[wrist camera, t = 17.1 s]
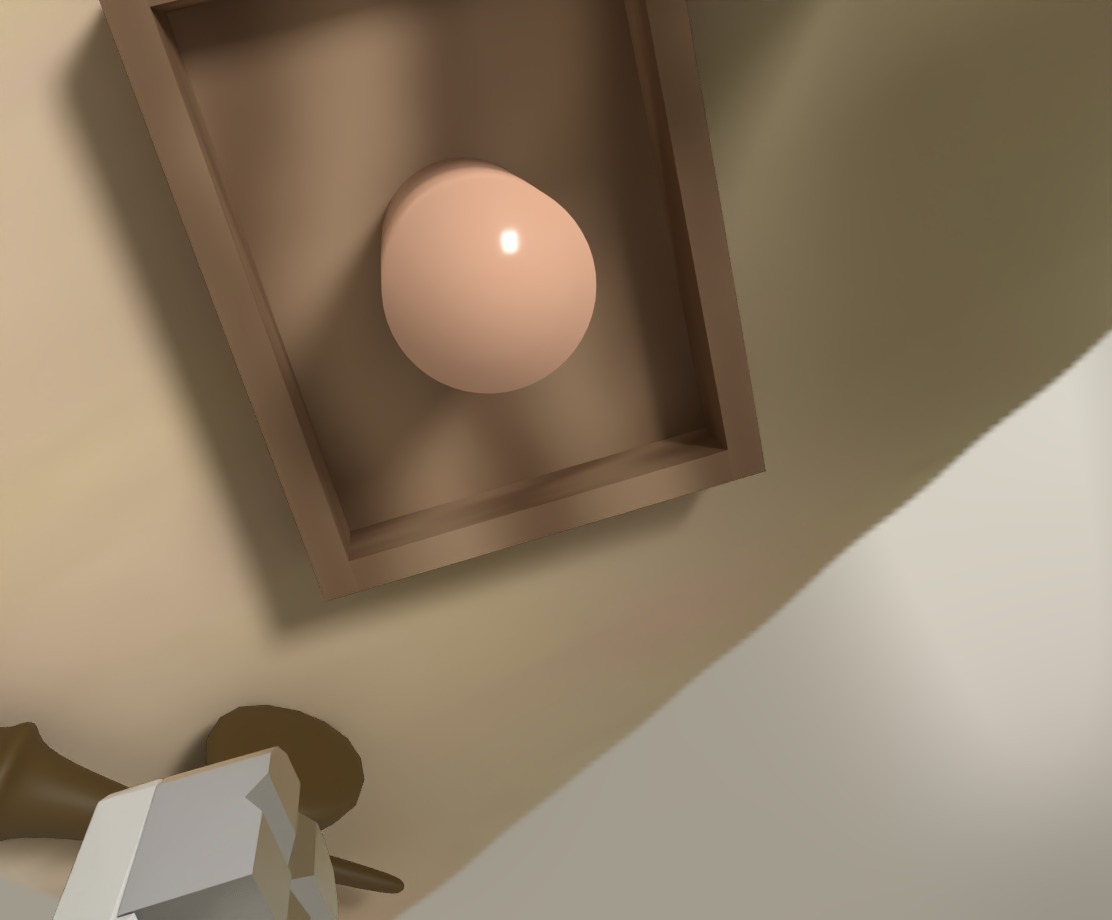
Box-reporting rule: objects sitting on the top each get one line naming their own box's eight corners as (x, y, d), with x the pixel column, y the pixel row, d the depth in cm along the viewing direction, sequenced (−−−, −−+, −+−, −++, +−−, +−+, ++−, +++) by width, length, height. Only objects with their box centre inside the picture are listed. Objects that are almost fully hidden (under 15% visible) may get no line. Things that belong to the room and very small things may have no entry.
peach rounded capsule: (523, 136, 33) (566, 151, 25) (567, 300, 35) (618, 358, 27) (357, 185, 32) (350, 215, 25) (411, 347, 34) (420, 419, 27)
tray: (627, -143, 31) (657, -169, 28) (732, 439, 39) (765, 471, 36) (117, -19, 30) (87, -30, 27) (328, 556, 38) (325, 601, 34)
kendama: (-66, 591, 36) (448, 745, 42) (-129, 798, 39) (362, 918, 44) (-151, 686, 31) (455, 850, 36) (-218, 919, 33) (355, 1039, 39)
